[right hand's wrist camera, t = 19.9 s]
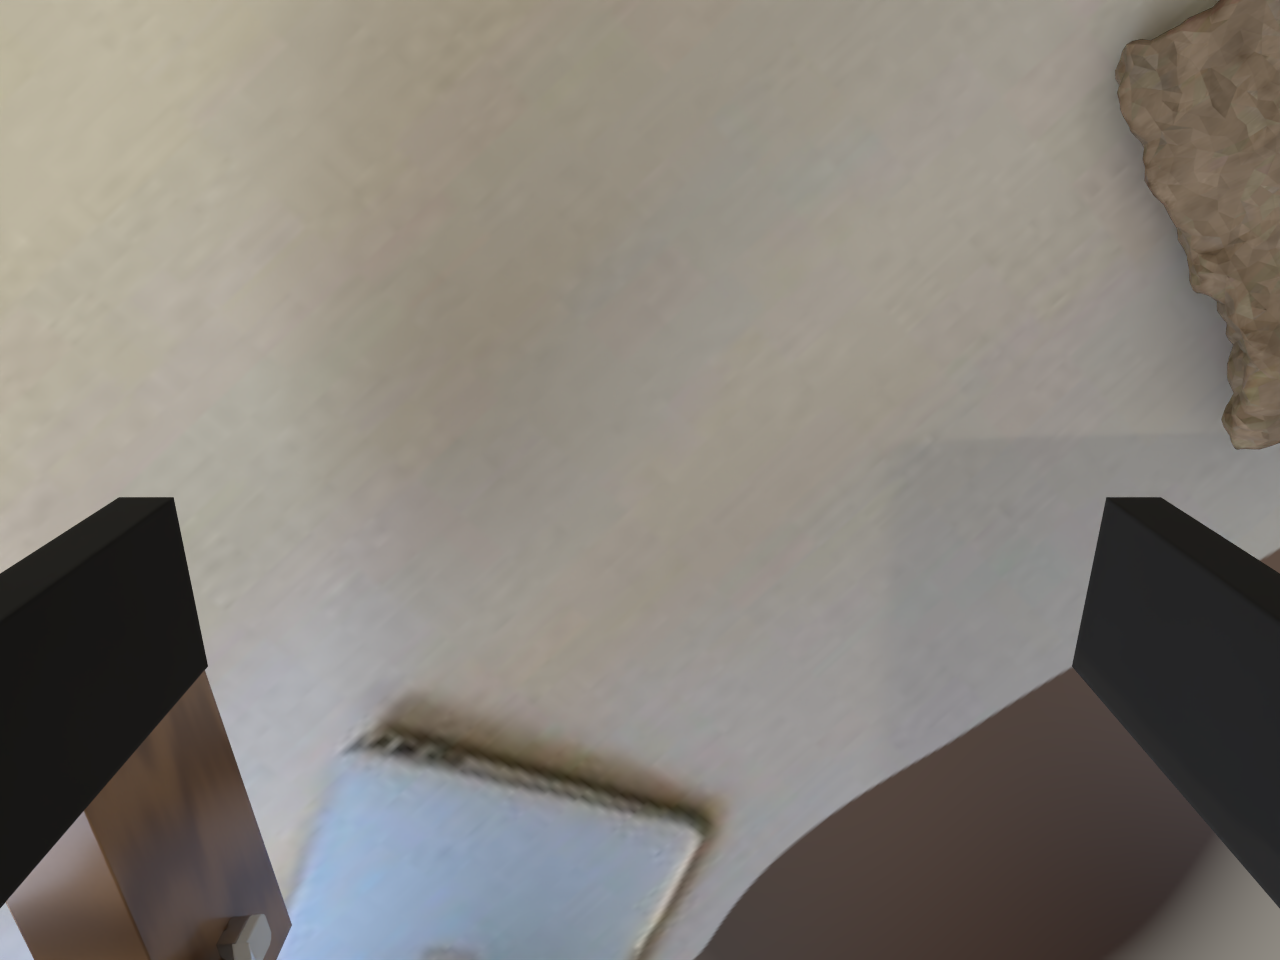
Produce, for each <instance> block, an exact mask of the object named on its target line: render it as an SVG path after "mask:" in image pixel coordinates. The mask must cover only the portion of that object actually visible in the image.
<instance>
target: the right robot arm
mask: <svg viewBox="0 0 1280 960" xmlns="http://www.w3.org/2000/svg"><path fill="white" fill-rule="evenodd" d="M207 667H208V664H207V659H206V654H205V650H204V645H203V640H202V635H201V630H200V625H199V620H198V615H197V610H196V605H195V600H194V596H193V591H192V586H191V581H190V576H189V571H188V566H187V561H186V556H185V551H184V546H183V542H182V537H181V532H180V527H179V522H178V517H177V512H176V507H175V502H174V497H119V498H117V499H116V500H114V501H113V502H111V503H110V504H108V505H106V506H105V507H103V508H102V509H100V510H99V511H97V512H96V513H94V514H92V515H91V516H89V517H88V518H86V519H85V520H83V521H82V522H80V523H78V524H77V525H75V526H74V527H72V528H71V529H69V530H68V531H66V532H64V533H63V534H61V535H60V536H58V537H57V538H55V539H54V540H52V541H50V542H49V543H47V544H46V545H44V546H43V547H41V548H40V549H38V550H36V551H35V552H33V553H32V554H30V555H29V556H27V557H25V558H24V559H22V560H21V561H19V562H18V563H16V564H15V565H13V566H11V567H10V568H8V569H7V570H5V571H4V572H2V573H1V574H0V908H1V907H2V906H3V904H4V903H5V902H6V901H7V900H8V899H9V897H10V896H11V895H12V894H13V893H14V892H15V891H16V889H17V888H18V887H19V886H20V885H21V884H22V882H23V881H24V880H25V879H26V878H27V877H28V875H29V874H30V873H31V872H32V871H33V870H34V868H35V867H36V866H37V865H38V864H39V863H40V861H41V860H42V859H43V858H44V857H45V856H46V854H47V853H48V852H49V851H50V850H51V849H52V847H53V846H54V845H55V844H56V843H57V842H58V840H59V839H60V838H61V837H62V836H63V835H64V833H65V832H66V831H67V830H68V829H69V828H70V826H71V825H72V824H73V823H74V822H75V821H76V819H77V818H78V817H79V816H80V815H81V814H82V812H83V811H84V810H85V809H86V808H87V807H88V805H89V804H90V803H91V802H92V801H93V800H94V798H95V797H96V796H97V795H98V794H99V793H100V791H101V790H102V789H103V788H104V787H105V786H106V784H107V783H108V782H109V781H110V780H111V779H112V778H113V776H114V775H115V774H116V773H117V772H118V771H119V769H120V768H121V767H122V766H123V765H124V764H125V762H126V761H127V760H128V759H129V758H130V757H131V755H132V754H133V753H134V752H135V751H136V750H137V748H138V747H139V746H140V745H141V744H142V743H143V741H144V740H145V739H146V738H147V737H148V736H149V734H150V733H151V732H152V731H153V730H154V729H155V727H156V726H157V725H158V724H159V723H160V722H161V720H162V719H163V718H164V717H165V716H166V715H167V713H168V712H169V711H170V710H171V709H172V708H173V706H174V705H175V704H176V703H177V702H178V701H179V699H180V698H181V697H182V696H183V695H184V694H185V692H186V691H187V690H188V689H189V688H190V687H191V685H192V684H193V683H194V682H195V681H196V680H197V678H198V677H199V676H200V675H201V674H202V673H203V671H204V670H205V669H206V668H207ZM1072 667H1073V668H1074V669H1075V670H1076V672H1077V673H1078V674H1079V675H1080V676H1081V677H1082V678H1083V680H1084V681H1085V682H1086V683H1087V684H1088V685H1089V687H1090V688H1091V689H1092V690H1093V691H1094V692H1095V694H1096V695H1097V696H1098V697H1099V698H1100V699H1101V701H1102V702H1103V703H1104V704H1105V705H1106V706H1107V708H1108V709H1109V710H1110V711H1111V712H1112V713H1113V715H1114V716H1115V717H1116V718H1117V719H1118V720H1119V722H1120V723H1121V724H1122V725H1123V726H1124V727H1125V729H1126V730H1127V731H1128V732H1129V733H1130V734H1131V736H1132V737H1133V738H1134V739H1135V740H1136V741H1137V743H1138V744H1139V745H1140V746H1141V747H1142V748H1143V750H1144V751H1145V752H1146V753H1147V754H1148V755H1149V757H1150V758H1151V759H1152V760H1153V761H1154V762H1155V763H1156V765H1157V766H1158V767H1159V768H1160V769H1161V771H1162V772H1163V773H1164V774H1165V775H1166V776H1167V777H1168V779H1169V780H1170V781H1171V782H1172V783H1173V784H1174V786H1175V787H1176V788H1177V789H1178V790H1179V791H1180V793H1181V794H1182V795H1183V796H1184V797H1185V798H1186V800H1187V801H1188V802H1189V803H1190V804H1191V805H1192V807H1193V808H1194V809H1195V810H1196V811H1197V812H1198V814H1199V815H1200V816H1201V817H1202V818H1203V819H1204V821H1205V822H1206V823H1207V824H1208V825H1209V826H1210V828H1211V829H1212V830H1213V831H1214V832H1215V833H1216V835H1217V836H1218V837H1219V838H1220V839H1221V840H1222V842H1223V843H1224V844H1225V845H1226V846H1227V847H1228V849H1229V850H1230V851H1231V852H1232V853H1233V854H1234V856H1235V857H1236V858H1237V859H1238V860H1239V861H1240V862H1241V864H1242V865H1243V866H1244V867H1245V868H1246V870H1247V871H1248V872H1249V873H1250V874H1251V875H1252V877H1253V878H1254V879H1255V880H1256V881H1257V882H1258V883H1259V885H1260V886H1261V887H1262V888H1263V889H1264V891H1265V892H1266V893H1267V894H1268V895H1269V896H1270V897H1271V899H1272V900H1273V901H1274V902H1275V903H1276V904H1277V906H1278V907H1279V908H1280V574H1279V573H1278V572H1276V571H1275V570H1273V569H1272V568H1270V567H1269V566H1267V565H1265V564H1264V563H1262V562H1261V561H1259V560H1258V559H1256V558H1255V557H1253V556H1251V555H1250V554H1248V553H1247V552H1245V551H1244V550H1242V549H1240V548H1239V547H1237V546H1236V545H1234V544H1233V543H1231V542H1230V541H1228V540H1226V539H1225V538H1223V537H1222V536H1220V535H1219V534H1217V533H1216V532H1214V531H1212V530H1211V529H1209V528H1208V527H1206V526H1205V525H1203V524H1202V523H1200V522H1198V521H1197V520H1195V519H1194V518H1192V517H1191V516H1189V515H1188V514H1186V513H1184V512H1183V511H1181V510H1180V509H1178V508H1177V507H1175V506H1174V505H1172V504H1170V503H1169V502H1167V501H1166V500H1164V499H1163V498H1161V497H1106V502H1105V507H1104V512H1103V517H1102V522H1101V527H1100V532H1099V537H1098V542H1097V546H1096V551H1095V556H1094V561H1093V566H1092V571H1091V576H1090V581H1089V586H1088V591H1087V596H1086V600H1085V605H1084V610H1083V615H1082V620H1081V625H1080V630H1079V635H1078V640H1077V645H1076V650H1075V654H1074V659H1073V664H1072Z"/></svg>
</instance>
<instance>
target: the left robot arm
mask: <svg viewBox="0 0 1280 960" xmlns="http://www.w3.org/2000/svg"><path fill="white" fill-rule="evenodd" d="M270 942H271V930H270V927H269V924H268V922H267V919H266V916H265V915H264V914H256V915H245V916H235V917H232V918H230V920H229V922H228V923H227V929H225V930H224V931H223V933H222V935H221V936H220V938H219V940H218V942H217V944H216V946H217V949H218V952H219V954H220V957H221V958H223V959H224V960H263V959H264V956H265V954H266V952H267V950H268V948H269V946H270Z"/></svg>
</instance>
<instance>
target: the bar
mask: <svg viewBox="0 0 1280 960" xmlns="http://www.w3.org/2000/svg"><path fill="white" fill-rule="evenodd" d="M6 904H7V906H8V908H9V910H10V912H11V914H12V916H13V918H14V920H15V922H16V924H17V926H18V928H19V930H20V932H21V934H22V936H23V938H24V940H25V942H26V944H27V946H28V948H29V950H30V952H31V954H32V956H33V958H34V960H224V959H223V958H221V957H220V954H219V952H218V949H217V946H216V944H217V942H218V940H219V938H220V936H221V935H222V933H223V931H224V930H225V929H227V923H228V922H229V920H230V918H232V917H235V916H245V915H256V914H264V915H265V916H266V919H267V922H268V924H269V927H270V930H271V942H270V946H269V948H268V950H267V952H266V954H265V956H264V959H263V960H276V959H277V957H278V955H279V953H280V950H281V948H282V946H283V944H284V942H285V939H286V937H287V935H288V933H289V930H290V928H291V926H292V924H291V921H290V918H289V915H288V912H287V909H286V906H285V903H284V900H283V897H282V894H281V892H280V889H279V886H278V883H277V880H276V877H275V874H274V871H273V868H272V865H271V862H270V859H269V856H268V854H267V851H266V848H265V845H264V842H263V839H262V836H261V833H260V830H259V827H258V824H257V821H256V818H255V816H254V813H253V810H252V807H251V804H250V801H249V798H248V795H247V792H246V789H245V786H244V783H243V780H242V778H241V775H240V772H239V769H238V766H237V763H236V760H235V757H234V754H233V751H232V748H231V745H230V742H229V739H228V737H227V734H226V731H225V728H224V725H223V722H222V719H221V716H220V713H219V710H218V707H217V704H216V701H215V699H214V696H213V693H212V690H211V687H210V684H209V681H208V678H207V675H206V672H205V670H204V671H203V673H202V674H201V675H200V676H199V677H198V678H197V680H196V681H195V682H194V683H193V684H192V685H191V687H190V688H189V689H188V690H187V691H186V692H185V694H184V695H183V696H182V697H181V698H180V699H179V701H178V702H177V703H176V704H175V705H174V706H173V708H172V709H171V710H170V711H169V712H168V713H167V715H166V716H165V717H164V718H163V719H162V720H161V722H160V723H159V724H158V725H157V726H156V727H155V729H154V730H153V731H152V732H151V733H150V734H149V736H148V737H147V738H146V739H145V740H144V741H143V743H142V744H141V745H140V746H139V747H138V748H137V750H136V751H135V752H134V753H133V754H132V755H131V757H130V758H129V759H128V760H127V761H126V762H125V764H124V765H123V766H122V767H121V768H120V769H119V771H118V772H117V773H116V774H115V775H114V776H113V778H112V779H111V780H110V781H109V782H108V783H107V784H106V786H105V787H104V788H103V789H102V790H101V791H100V793H99V794H98V795H97V796H96V797H95V798H94V800H93V801H92V802H91V803H90V804H89V805H88V807H87V808H86V809H85V810H84V811H83V812H82V814H81V815H80V816H79V817H78V818H77V819H76V821H75V822H74V823H73V824H72V825H71V826H70V828H69V829H68V830H67V831H66V832H65V833H64V835H63V836H62V837H61V838H60V839H59V840H58V842H57V843H56V844H55V845H54V846H53V847H52V849H51V850H50V851H49V852H48V853H47V854H46V856H45V857H44V858H43V859H42V860H41V861H40V863H39V864H38V865H37V866H36V867H35V868H34V870H33V871H32V872H31V873H30V874H29V875H28V877H27V878H26V879H25V880H24V881H23V882H22V884H21V885H20V886H19V887H18V888H17V889H16V891H15V892H14V893H13V894H12V895H11V896H10V897H9V899H8V900H7V901H6Z"/></svg>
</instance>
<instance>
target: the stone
mask: <svg viewBox="0 0 1280 960" xmlns="http://www.w3.org/2000/svg"><path fill="white" fill-rule="evenodd" d="M1115 79H1116V80H1117V82H1118V84H1119V88H1118V92H1117V94H1118V98H1119V102H1120V109H1121V112H1122V114H1123V117H1124V119H1125V120H1126V122H1127V123H1128V125H1129V128H1130V131H1131V132H1132V133H1133V134H1134V136H1135V137H1136V138H1137V139H1138V140H1139V141H1141V142H1142V144H1143V147H1144V154H1143V162H1144V165H1145V182H1146V184H1147V185H1148V187H1149V189H1150V190H1151V192H1152V193H1153V195H1154V196H1155V197H1156V198H1157V199H1158V200H1159V201H1160V202H1162V203H1163V204H1164V206H1165V208H1166V210H1167V212H1168V214H1169V216H1170V218H1171V219H1172V221H1173V223H1174V224H1175V226H1176V228H1177V231H1178V241H1179V242H1180V244H1181V245H1182V247H1183V248H1184V250H1185V252H1186V255H1187V261H1188V266H1189V281H1190V283H1191V286H1192V288H1193V290H1194V291H1195V292H1196V293H1202V294H1206V295H1208V296H1211V297H1212V298H1213V299H1214V300H1216V301H1217V311H1218V313H1219V314H1220V315H1221V317H1222V318H1223V319H1224V321H1226V322H1227V328H1226V335H1227V337H1228V339H1229V341H1230V342H1231V343H1232V344H1233V348H1232V351H1231V353H1230V356H1229V361H1228V363H1227V379H1228V381H1229V384H1230V386H1231V388H1232V390H1233V392H1234V394H1233V396H1232V397H1231V399H1230V401H1229V403H1228V404H1227V406H1226V408H1225V410H1224V413H1223V416H1222V419H1221V420H1222V423H1223V426H1224V428H1225V429H1226V431H1227V432H1228V434H1229V435H1230V439H1231V442H1232V444H1233V446H1234V448H1235V449H1262V448H1265V447H1269V446H1272V445H1275V444H1277V443H1280V0H1220V1H1219V2H1218V3H1217V4H1216V5H1215V6H1214V7H1213V8H1211V9H1208V10H1206V11H1204V12H1202V13H1199V14H1197V15H1195V16H1192V17H1190V18H1188V19H1187V20H1186V21H1184V22H1183V23H1182V24H1181V25H1179V26H1177V27H1175V28H1173V29H1171V30H1169V31H1167V32H1166V33H1164V34H1162V35H1160V36H1158V37H1157V38H1155V39H1152V40H1144V39H1140V40H1135V41H1132V42H1130V43H1129V44H1127V45H1126V47H1125V48H1124V50H1123V51H1122V55H1121V59H1120V62H1119V64H1118V66H1117V68H1116V70H1115Z"/></svg>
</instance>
